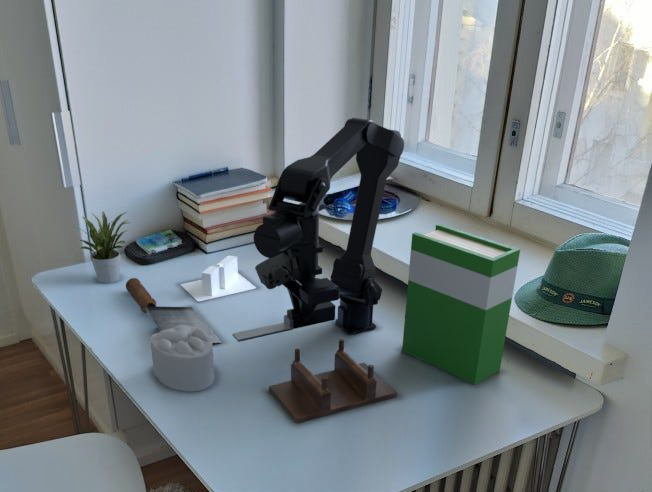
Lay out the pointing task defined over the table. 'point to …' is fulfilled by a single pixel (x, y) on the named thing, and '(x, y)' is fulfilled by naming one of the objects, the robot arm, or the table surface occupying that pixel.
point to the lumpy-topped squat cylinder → (183, 358)
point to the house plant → (105, 249)
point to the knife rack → (330, 388)
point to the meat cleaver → (166, 311)
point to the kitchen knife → (290, 322)
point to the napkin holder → (218, 281)
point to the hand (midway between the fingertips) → (301, 319)
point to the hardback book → (459, 301)
